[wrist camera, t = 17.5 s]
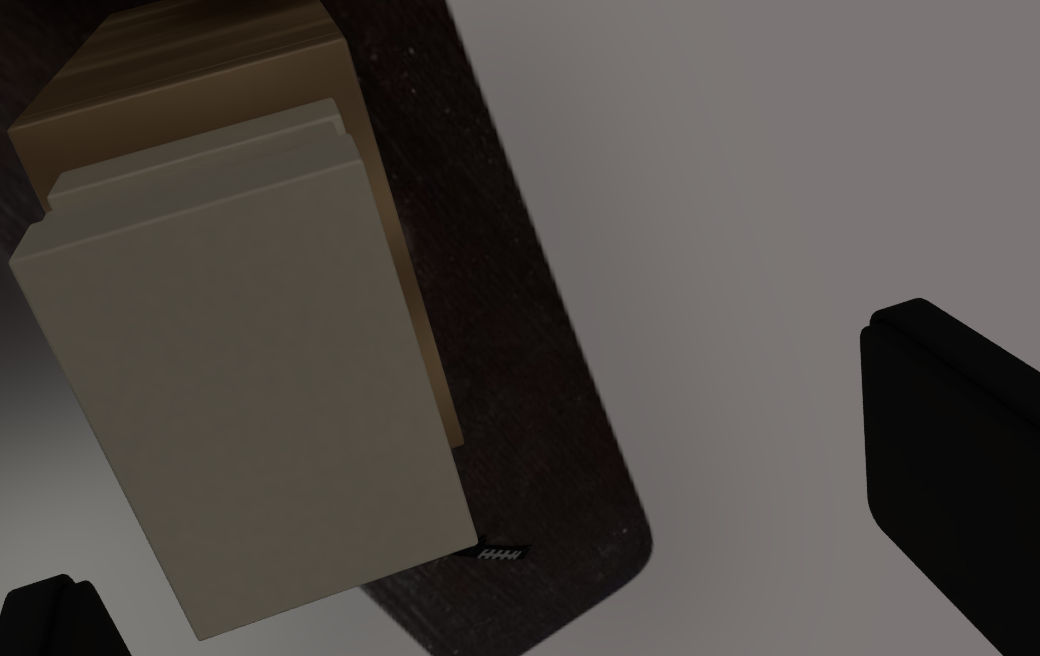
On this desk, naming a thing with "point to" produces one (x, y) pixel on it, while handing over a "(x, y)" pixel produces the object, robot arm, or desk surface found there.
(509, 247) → the desk surface
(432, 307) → the desk surface
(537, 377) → the desk surface
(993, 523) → the robot arm
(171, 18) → the book stand
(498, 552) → the knife
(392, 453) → the cream book
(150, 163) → the cream books
